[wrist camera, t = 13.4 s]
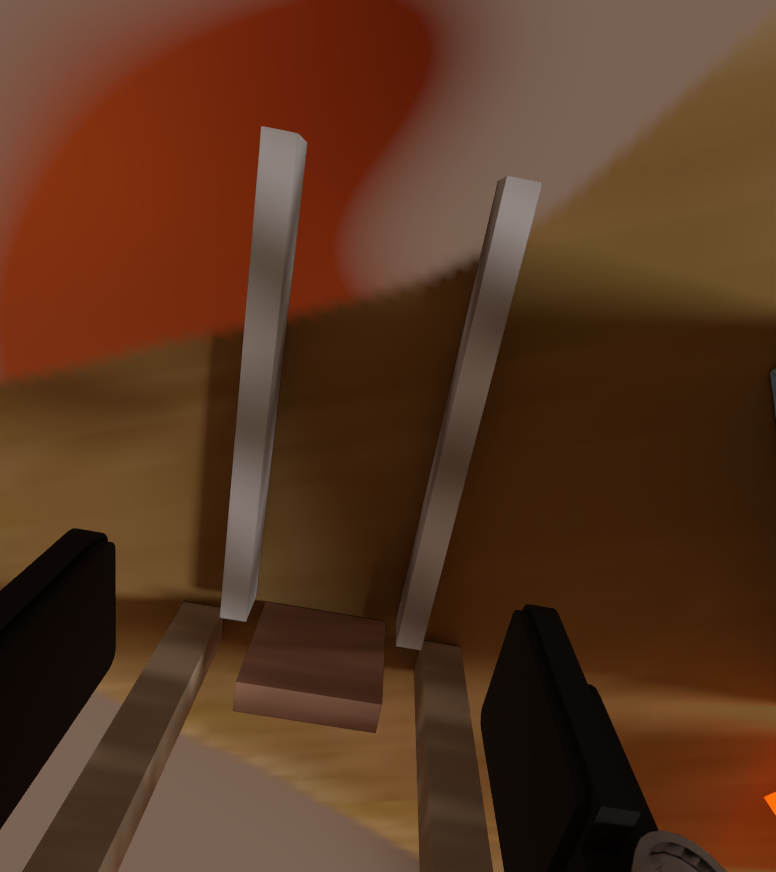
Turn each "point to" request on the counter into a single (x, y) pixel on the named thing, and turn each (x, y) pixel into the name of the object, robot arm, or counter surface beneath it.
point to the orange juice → (771, 801)
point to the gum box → (773, 386)
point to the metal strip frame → (300, 627)
